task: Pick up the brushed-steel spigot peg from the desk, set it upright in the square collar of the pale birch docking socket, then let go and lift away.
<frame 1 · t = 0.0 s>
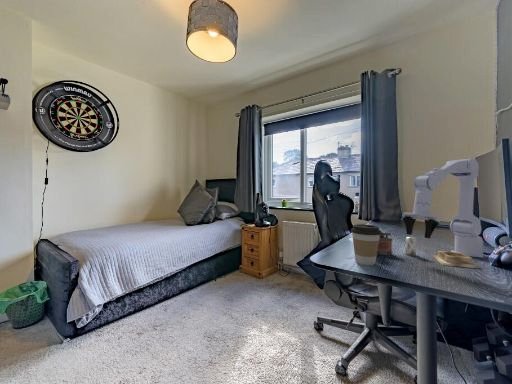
hand: (417, 236, 99), 11 cm above the table, tool pointing down, fingers open, 7 cm apart
dock socket: (454, 262, 99), on the table
coffee cup: (365, 263, 97), on the table
spigot peg: (410, 254, 109), on the table
hip flask: (382, 253, 111), on the table
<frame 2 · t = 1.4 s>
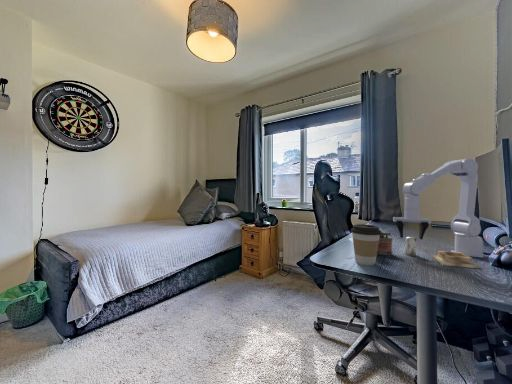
hand: (411, 238, 109), 8 cm above the table, tool pointing down, fingers open, 7 cm apart
nothing on the table moved.
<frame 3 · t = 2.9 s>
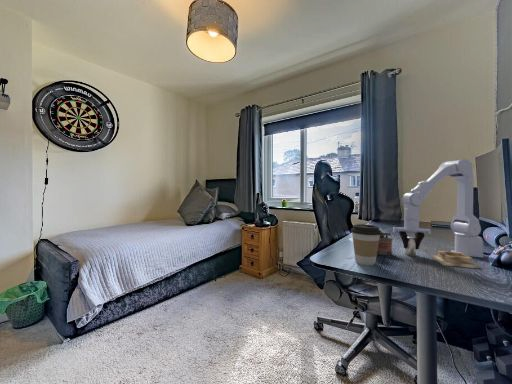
hand: (410, 248, 109), 3 cm above the table, tool pointing down, fingers closed on spigot peg, 4 cm apart
spigot peg: (410, 254, 109), on the table, touching gripper
everything else where it was.
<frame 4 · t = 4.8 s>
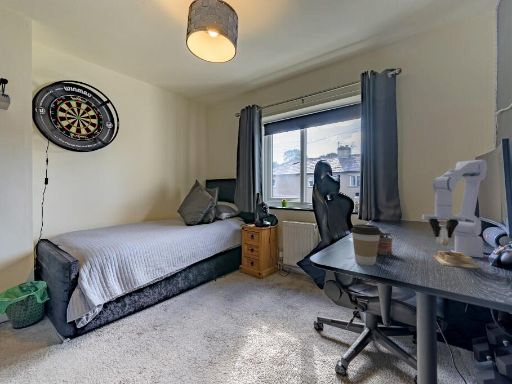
hand: (442, 237, 101), 10 cm above the table, tool pointing down, fingers closed on spigot peg, 4 cm apart
spigot peg: (442, 244, 101), point 7 cm above the table, touching gripper
everything else where it was.
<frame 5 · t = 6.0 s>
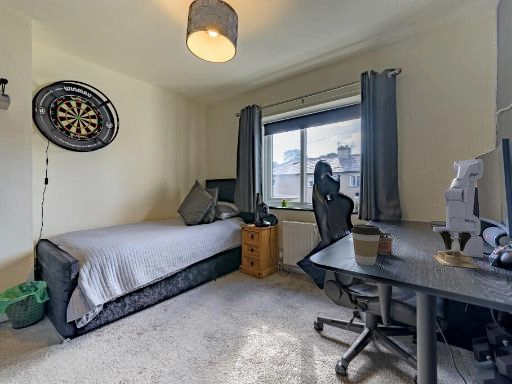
hand: (454, 250, 98), 5 cm above the table, tool pointing down, fingers closed on spigot peg, 4 cm apart
spigot peg: (454, 257, 99), point 2 cm above the table, touching gripper
everything else where it was.
when the fingers open (4 cm above the table, at t = 7.0 s): spigot peg stays where it is, resting on dock socket.
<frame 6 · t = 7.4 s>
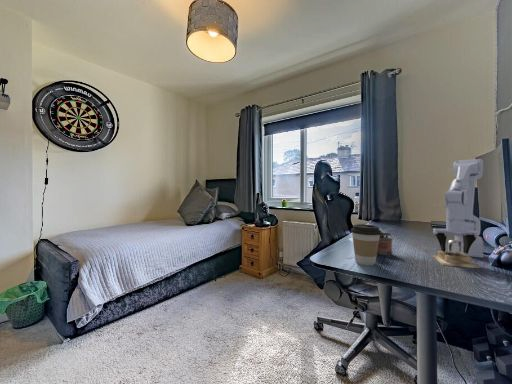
hand: (454, 252, 98), 4 cm above the table, tool pointing down, fingers open, 7 cm apart
spigot peg: (454, 260, 99), point 1 cm above the table, touching dock socket
everything else where it was.
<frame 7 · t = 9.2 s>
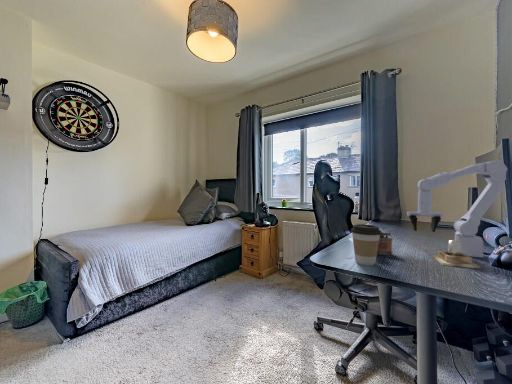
hand: (424, 231, 117), 9 cm above the table, tool pointing down, fingers open, 7 cm apart
nothing on the table moved.
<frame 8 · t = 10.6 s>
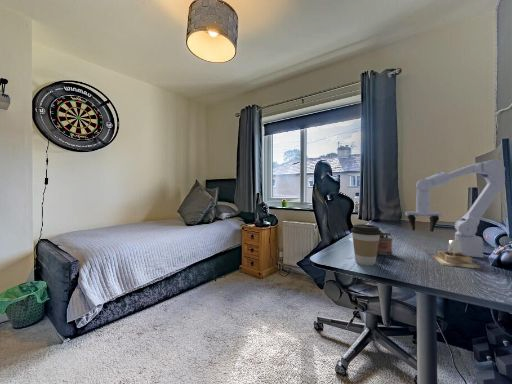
hand: (422, 230, 118), 9 cm above the table, tool pointing down, fingers open, 7 cm apart
nothing on the table moved.
at the end: spigot peg 0.1 cm off-centre on the dock socket, point 0.8 cm above the dock socket's base; spigot peg tilted 1°; the gripper is holding nothing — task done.
